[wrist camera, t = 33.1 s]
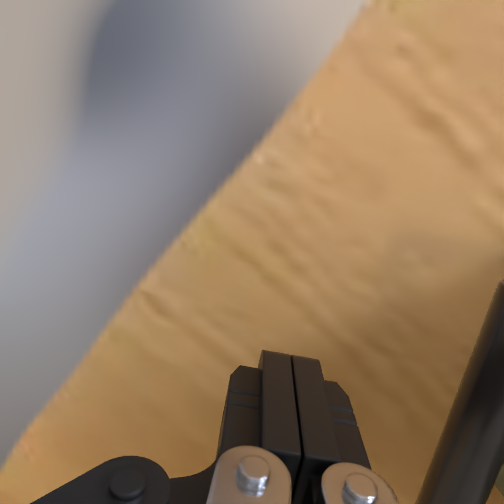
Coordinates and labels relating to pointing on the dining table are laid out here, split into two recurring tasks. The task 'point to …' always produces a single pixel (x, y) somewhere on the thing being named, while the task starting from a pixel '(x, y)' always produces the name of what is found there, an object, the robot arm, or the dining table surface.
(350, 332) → the dining table surface
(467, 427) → the drawer
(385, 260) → the dining table surface
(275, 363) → the robot arm
